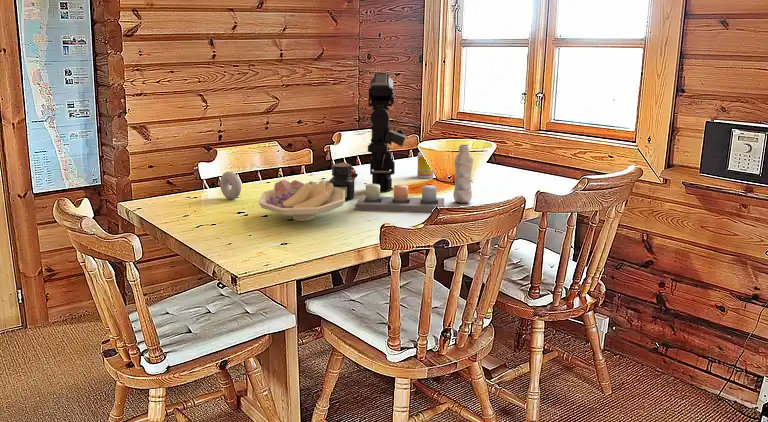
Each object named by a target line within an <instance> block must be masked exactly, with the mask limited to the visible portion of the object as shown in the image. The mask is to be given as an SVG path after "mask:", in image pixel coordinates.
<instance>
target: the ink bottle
mask: <svg viewBox="0 0 768 422" xmlns="http://www.w3.org/2000/svg"><path fill="white" fill-rule="evenodd" d="M345 163H346V162H343V163H342V162H339V163H333V164H331V176H332V177H331V178H330V179H329V180H328V183H332V184H333V187H335V188H339V189H343V190H345V201H350V200H351V201H352V200H353V199H354V198H355V180H354V179H353V178H352V177H350V176H351V166H352V164H350V163H347V164H345Z"/></svg>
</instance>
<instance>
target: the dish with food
mask: <svg viewBox="0 0 768 422" xmlns="http://www.w3.org/2000/svg"><path fill="white" fill-rule="evenodd" d="M345 201H346V200H345V190H343V189H339V188H335V187H333V184H332V183H329V182H326V181H325V180H324V179H322V180H320V181H319V183H317V182H316V181H315V182H314V181H308V182H307V183H303V182H301V181H299V180H296V179H294V180H292V181H291V182H290V181H288V180H286V179H282V180H279V181H277V182H275V184H274V187H273V189H269V190H266V191H263V192H262V193H261V195H260V198H259V200H258V202H257V203H258V204H259V206H260V207H261V209H264V210H267V211H270V212H272V213H273V212H274V213H277V214H280V215H283V216H287V217H293V218H292V219H293V220H295V221H297V222H299V221H300V222H301V221H302V222H303V221H310V220H313V219H314V218H315V216H316V215H317V216H318V215H319V214H323V213H326V212H329V211H333V210H335V209H337V208H340V207H342V206H343V204H344V203H345Z"/></svg>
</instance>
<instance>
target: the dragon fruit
mask: <svg viewBox="0 0 768 422" xmlns="http://www.w3.org/2000/svg"><path fill="white" fill-rule="evenodd" d="M341 163H345V164H348V163H347V162H341ZM358 175H359V174H358V173H357V171H356V169H355V167H353V166H352V165H351V176H350V177H352V178H353V179H354V181H355V180H356V178H357V177H358Z"/></svg>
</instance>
